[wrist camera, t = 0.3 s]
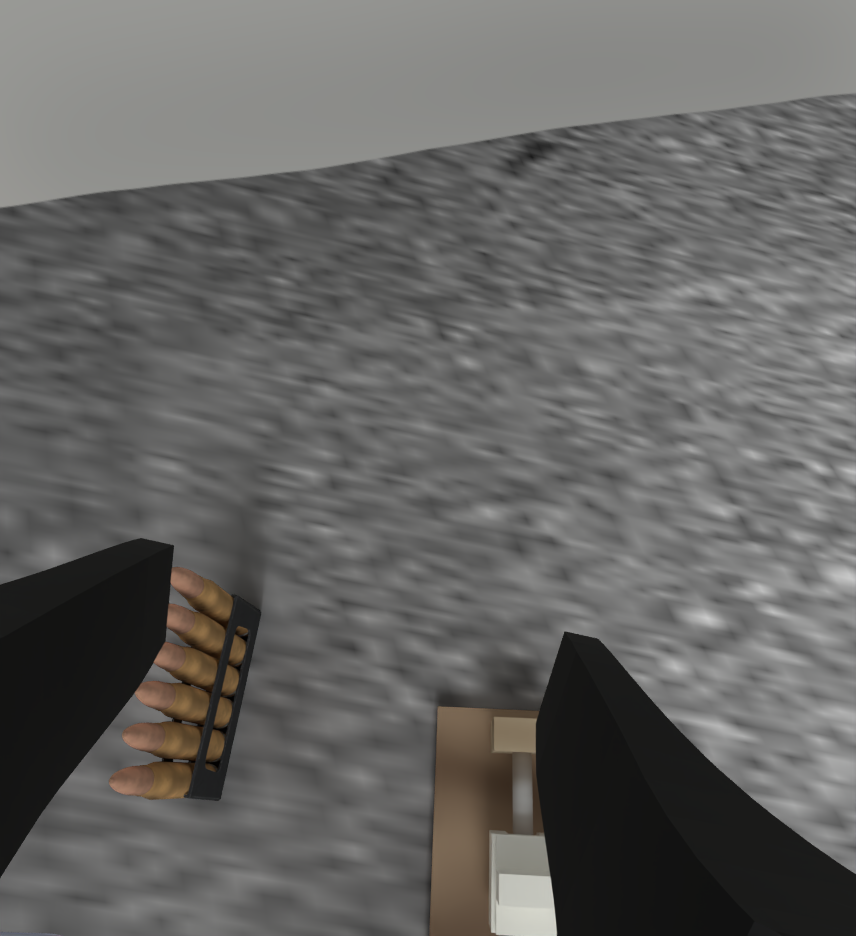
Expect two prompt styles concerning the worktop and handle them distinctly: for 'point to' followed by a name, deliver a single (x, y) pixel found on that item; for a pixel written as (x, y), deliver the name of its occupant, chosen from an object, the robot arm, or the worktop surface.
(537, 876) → the white slotted bracket
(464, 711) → the rail board
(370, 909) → the worktop surface
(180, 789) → the ammunition clip
